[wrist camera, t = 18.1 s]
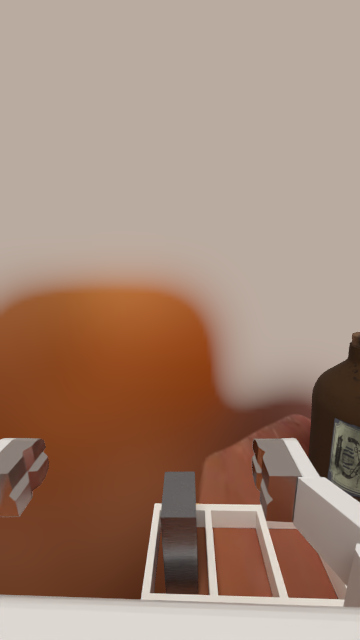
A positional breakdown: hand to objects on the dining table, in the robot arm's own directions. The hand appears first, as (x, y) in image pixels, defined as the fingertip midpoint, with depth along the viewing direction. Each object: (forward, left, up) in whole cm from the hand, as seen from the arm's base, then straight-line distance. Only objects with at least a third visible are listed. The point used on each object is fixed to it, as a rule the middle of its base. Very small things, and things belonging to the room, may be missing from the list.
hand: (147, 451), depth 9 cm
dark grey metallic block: (0, -12, -28) cm, 31 cm away
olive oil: (-24, -22, -28) cm, 43 cm away
